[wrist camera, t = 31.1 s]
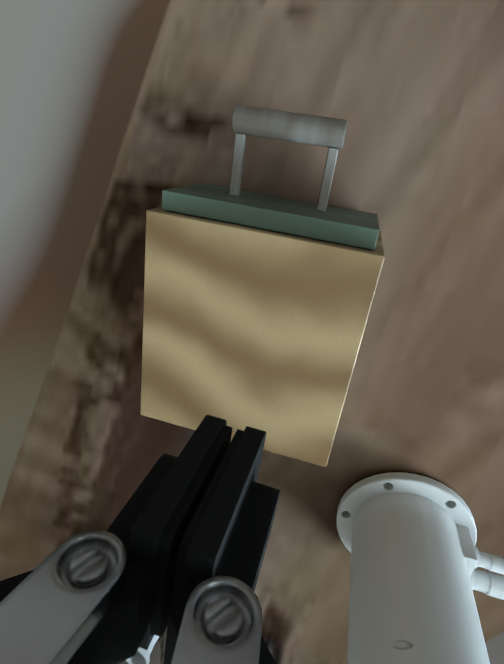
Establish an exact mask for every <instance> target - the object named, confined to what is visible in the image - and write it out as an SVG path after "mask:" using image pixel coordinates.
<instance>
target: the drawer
mask: <svg viewBox="0 0 504 664" xmlns="http://www.w3.org/2000/svg"><path fill="white" fill-rule="evenodd" d="M347 126H348V120H343V119H335V118H328V117H321V116H314V115H307V114H300V113H293V112H285V111H278V110H271V109H264V108H257V107H250V106H243V105H236V106H235V108H234V110H233V114H232V130H233V132H234V133H236V135H235V144H234V154H233V163H232V172H231V181H230V188H225V187H220V186H214V185H208V184H203V183H200V184H194V185H189V186H183V187H178V188H172V189H166V190H162V208H161V209H162V210H166V211H172V212H177V213H182V214H187V215H193V216H198V217H203V218H208V220H211V219H213V221H216V220H219V221H218V222H221V221H224V222H223V223H226V222H229V223H228V224H231V223H234V225H237V224H240V225H239V226H242V225H245V226H244V227H247V226H250V227H249V228H252V227H255V229H258V228H261V229H260V230H263V229H266V230H265V231H268V230H271V231H270V232H273V231H276V232H275V233H279V232H282V233H281V234H284V233H287V234H286V235H289V234H292V235H291V236H294V235H297V236H296V237H299V236H303V237H302V238H305V237H308V238H307V239H310V238H313V239H312V240H315V239H318V240H317V241H320V240H323V241H322V242H326V241H329V242H328V243H331V242H334V243H333V244H336V243H339V244H338V245H341V244H344V245H343V246H347V245H350V246H349V247H352V246H355V247H354V248H357V247H360V248H365V249H371V250H374V249H375V246H376V242H377V239H378V235H379V231H380V230H379V224H378V218H377V214H373V213H367V212H362V211H356V210H350V209H345V208H339V207H333V206H328V200H329V195H330V191H331V186H332V181H333V176H334V171H335V167H336V162H337V157H338V152H339V149H342V148H343V145H344V141H345V137H346V132H347ZM246 135H252V136H258V137H265V138H272V139H278V140H285V141H291V142H298V143H304V144H311V145H318V146H324V147H330V148H329V150H328V155H327V160H326V165H325V170H324V175H323V180H322V185H321V190H320V195H319V200H318V204H316V203H311V202H305V201H299V200H294V199H288V198H282V197H276V196H271V195H265V194H259V193H254V192H248V191H242V190H240V186H241V177H242V169H243V160H244V152H245V144H246Z"/></svg>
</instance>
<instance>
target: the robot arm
mask: <svg viewBox="0 0 504 664" xmlns="http://www.w3.org/2000/svg"><path fill="white" fill-rule="evenodd" d="M231 436H232V427H229V426H227V421H226V420H225V419H221V418H218V417H215V416H211V415H206V416H205V417H204V419H203V420H202V422H201V423H200V425H199V426H198V428H197V429H196V431H195V432H194V434H193V435H192V437H191V438H190V440H189V441H188V443H187V444H186V446H185V447H184V449H183V450H182V452H181V453H180V455H179V456H178V457H175V456H172V455H168V454H163V455H162V456H161V457H160V458H159V459H158V461H157V462H156V464H155V465H154V466H153V468H152V469H151V471H150V472H149V473H148V475H147V476H146V477H145V479H144V480H143V482H142V483H141V484H140V486H139V487H138V488H137V490H136V491H135V493H134V494H133V495H132V497H131V498H130V499H129V501H128V502H127V504H126V505H125V506H124V508H123V509H122V510H121V512H120V513H119V515H118V516H117V517H116V519H115V520H114V521H113V523H112V524H111V526H110V527H109V528H108V530H107V531H101V530H91V531H85V532H81V533H79V534H77V535H74V536H72V537H70V538H69V539H67V540H66V541H65V542H63V543H62V544H61V545H60V546H59V547H58V548H57V549H55V550H54V551H53V552H52V553H51V554H50V555H49V556H48V557H47V558H46V559H45V560H44V561H43V562H42V563H41V564H40V565H39V566H38V567H37V568H36V569H35V570H32V571H29V572H26V573H23V574H20V575H17V576H14V577H11V578H8V579H5V580H2V581H0V664H120V663H121V662H122V661H124V660H127V659H129V658H131V657H133V656H135V654H136V652H137V650H138V648H139V647H140V648H143V649H145V650H148V647H149V645H150V643H151V641H152V639H153V637H154V635H157V636H159V637H162V636H163V634H164V632H165V630H166V628H167V626H168V628H167V637H166V646H165V655H164V664H276V663H275V661H274V659H273V657H272V655H271V653H270V651H269V649H268V647H267V645H266V644H265V642H264V640H263V638H262V636H261V632H262V608H261V605H260V602H259V600H258V597H257V596H256V594H255V593H254V590H255V586H256V583H257V579H258V576H259V572H260V568H261V565H262V561H263V557H264V554H265V550H266V546H267V543H268V539H269V535H270V531H271V527H272V524H273V520H274V516H275V512H276V507H277V503H278V499H279V495H280V490H279V489H276V488H273V487H269V486H266V485H263V484H260V483H257V477H258V472H259V467H260V463H261V458H262V453H263V448H264V443H265V438H266V431H262V430H259V429H256V428H252V427H249V426H246V428H245V430H244V431H243V430H239V429H237V431H236V433H235V435H234V437H233V439H232V441H231ZM230 442H231V443H230ZM336 519H337V530H338V534H339V537H340V539H341V540H342V542H343V544H344V546H345V547H346V548H347V549H348V551H349V552H350V553H351V570H350V595H349V620H348V646H347V664H490V661H489V657H488V653H487V649H486V645H485V641H484V636H483V632H482V628H481V624H480V620H479V616H478V612H477V607H476V603H475V599H474V595H473V591H472V590H473V589H474V590H477V591H480V592H483V593H485V594H486V595H489V596H492V597H495V598H498V599H501V600H504V576H502V575H498V574H495V573H492V572H489V571H485V572H484V571H481V570H478V569H476V568H477V567H478V566H479V567H483V568H486V569H487V570H490V571H493V572H496V573H500V574H503V575H504V558H503V557H500V556H496V555H493V554H489V553H488V554H487V553H484V552H480V551H479V549H478V548H477V547H476V546H475V544H476V541H477V530H476V526H475V522H474V518H473V516H472V513H471V511H470V509H469V507H468V506H467V504H466V503H465V502H464V500H463V499H462V498H461V497H460V496H459V495H458V494H457V493H456V492H454V491H453V490H452V489H450V488H449V487H447V486H446V485H444V484H442V483H440V482H438V481H436V480H433V479H431V478H428V477H425V476H421V475H418V474H411V473H404V472H391V473H383V474H377V475H373V476H371V477H368V478H365V479H363V480H361V481H359V482H357V483H356V484H354V485H353V486H352V487H351V488H349V489H348V490H347V491H346V493H345V494H344V495H343V497H342V498H341V500H340V503H339V505H338V510H337V518H336Z"/></svg>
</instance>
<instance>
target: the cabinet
mask: <svg viewBox="0 0 504 664" xmlns="http://www.w3.org/2000/svg"><path fill="white" fill-rule="evenodd" d="M161 208H162V207H158V208H154V209H150V210H147V211H146V237H145V272H144V307H143V342H142V377H141V412H140V414H141V415H143V416H147V417H150V418H154V419H157V420H161V421H164V422H168V423H171V424H175V425H179V426H182V427H186V428H189V429H193V430H196V429H197V428H198V426H199V425H200V423H201V422H202V420H203V419H204V417H205V416H206V415H211V416H215V417H218V418H221V419H225V420H226V421H227V426H229V427H232V436H231V441H232V439H233V437H234V435H235V433H236V431H237V429H239V430H243V431H244V430H245V428H246V426H249V427H252V428H256V429H259V430H262V431H266V438H265V443H264V448H263V450H267V451H270V452H274V453H277V454H281V455H284V456H288V457H291V458H295V459H298V460H302V461H305V462H309V463H312V464H316V465H319V466H323V467H326V466H327V463H328V459H329V455H330V452H331V448H332V445H333V441H334V438H335V434H336V430H337V427H338V423H339V420H340V416H341V412H342V409H343V405H344V402H345V398H346V395H347V391H348V387H349V384H350V380H351V377H352V373H353V370H354V366H355V362H356V359H357V355H358V352H359V348H360V345H361V341H362V337H363V334H364V330H365V327H366V323H367V320H368V316H369V312H370V309H371V305H372V302H373V298H374V295H375V291H376V287H377V284H378V280H379V277H380V273H381V270H382V266H383V262H384V259H385V255H384V249H383V243H382V237H381V231H379V235H378V239H377V242H376V246H375V249H374V250H371V249H365V248H360V247H357V248H354V247H355V246H352V247H349V246H350V245H347V246H343V245H344V244H341V245H338V244H339V243H336V244H333V243H334V242H331V243H328V242H329V241H326V242H322V241H323V240H320V241H317V240H318V239H315V240H312V239H313V238H310V239H307V238H308V237H305V238H302V237H303V236H299V237H296V236H297V235H294V236H291V235H292V234H289V235H286V234H287V233H284V234H281V233H282V232H279V233H275V232H276V231H273V232H270V231H271V230H268V231H265V230H266V229H263V230H260V229H261V228H258V229H255V227H252V228H249V227H250V226H247V227H244V226H245V225H242V226H239V225H240V224H237V225H234V223H231V224H228V223H229V222H226V223H223V222H224V221H221V222H218V221H219V220H216V221H213V219H211V220H208V218H203V217H198V216H193V215H187V214H182V213H177V212H172V211H166V210H162V209H161Z"/></svg>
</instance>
